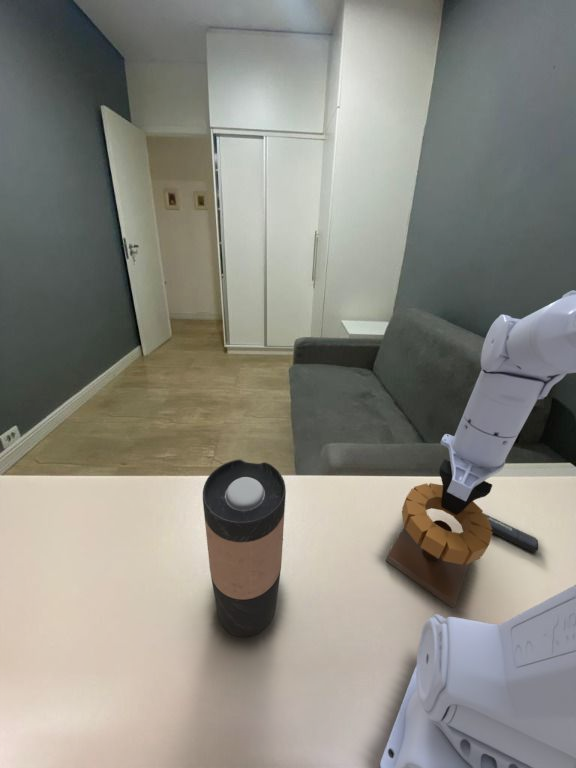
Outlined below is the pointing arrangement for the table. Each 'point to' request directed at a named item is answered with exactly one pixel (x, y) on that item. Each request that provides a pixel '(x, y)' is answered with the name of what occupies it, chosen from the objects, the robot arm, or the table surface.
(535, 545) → the usb stick
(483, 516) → the notched ring
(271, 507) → the travel mug
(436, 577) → the post stand
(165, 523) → the table surface
